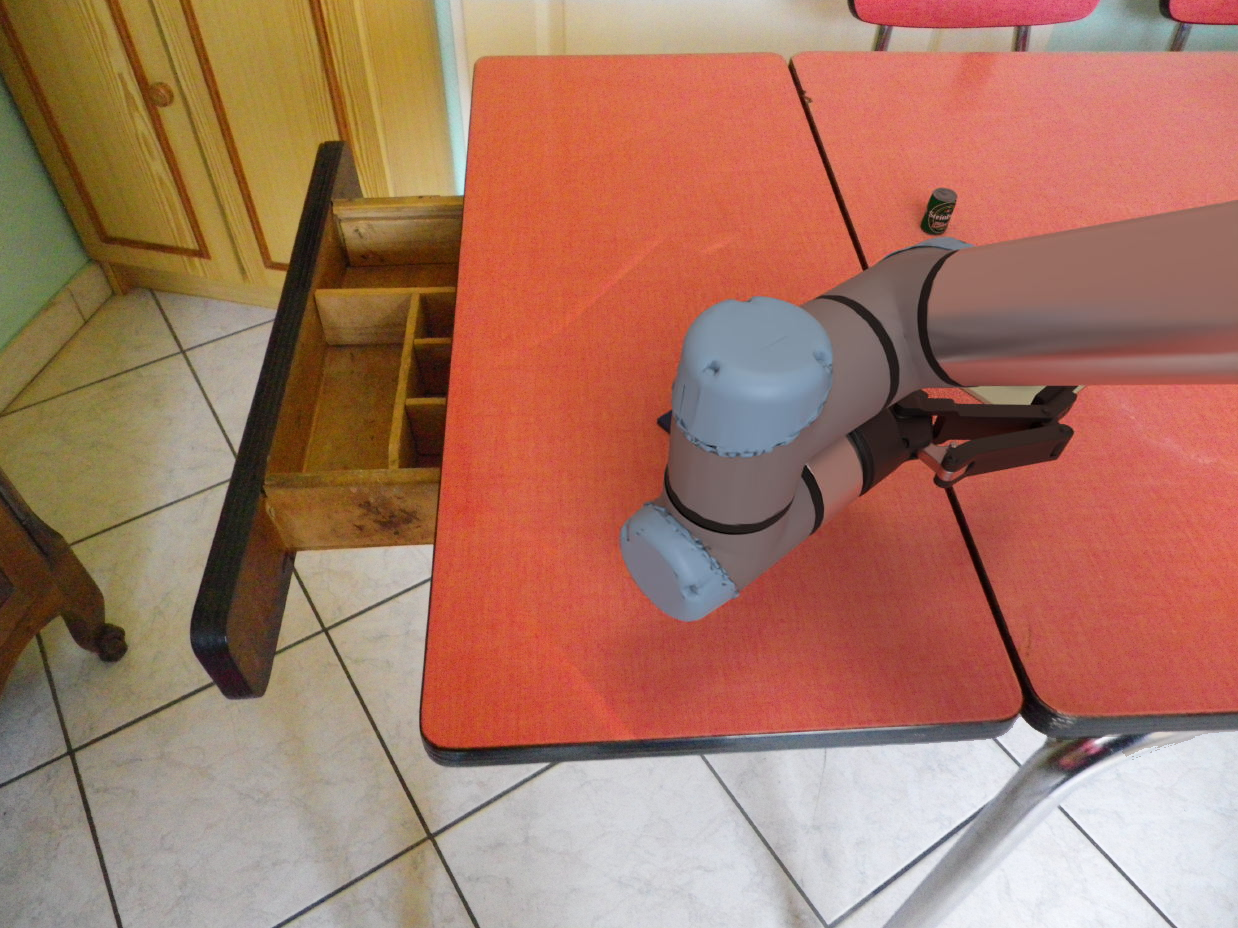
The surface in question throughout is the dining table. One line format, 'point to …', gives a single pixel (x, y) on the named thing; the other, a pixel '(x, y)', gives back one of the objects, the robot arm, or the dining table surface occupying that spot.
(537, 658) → the dining table surface
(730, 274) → the dining table surface
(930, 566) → the dining table surface
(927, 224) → the beer can
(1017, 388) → the light mat
